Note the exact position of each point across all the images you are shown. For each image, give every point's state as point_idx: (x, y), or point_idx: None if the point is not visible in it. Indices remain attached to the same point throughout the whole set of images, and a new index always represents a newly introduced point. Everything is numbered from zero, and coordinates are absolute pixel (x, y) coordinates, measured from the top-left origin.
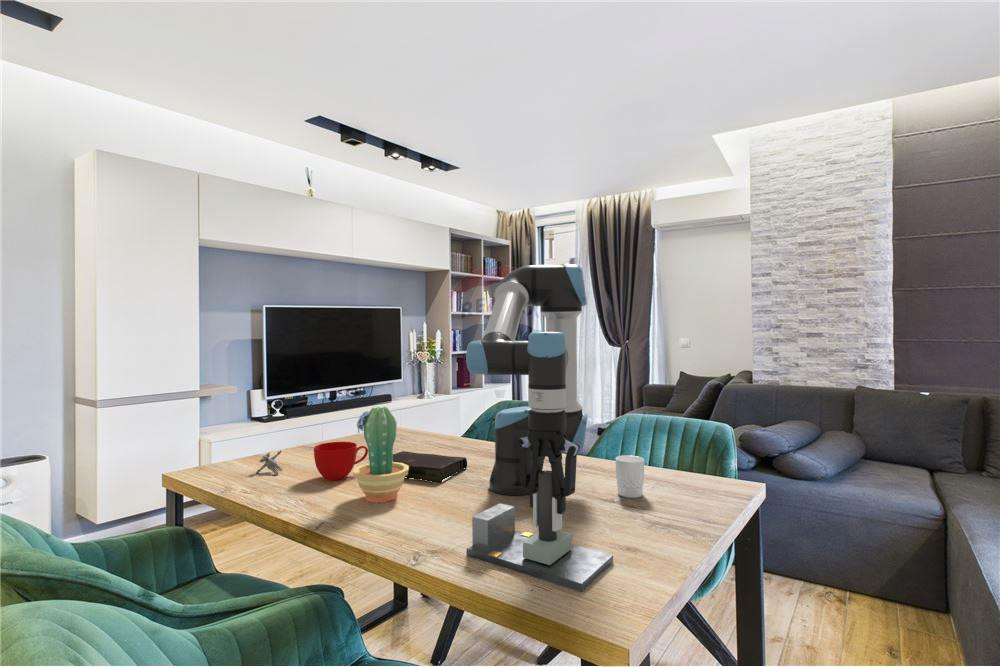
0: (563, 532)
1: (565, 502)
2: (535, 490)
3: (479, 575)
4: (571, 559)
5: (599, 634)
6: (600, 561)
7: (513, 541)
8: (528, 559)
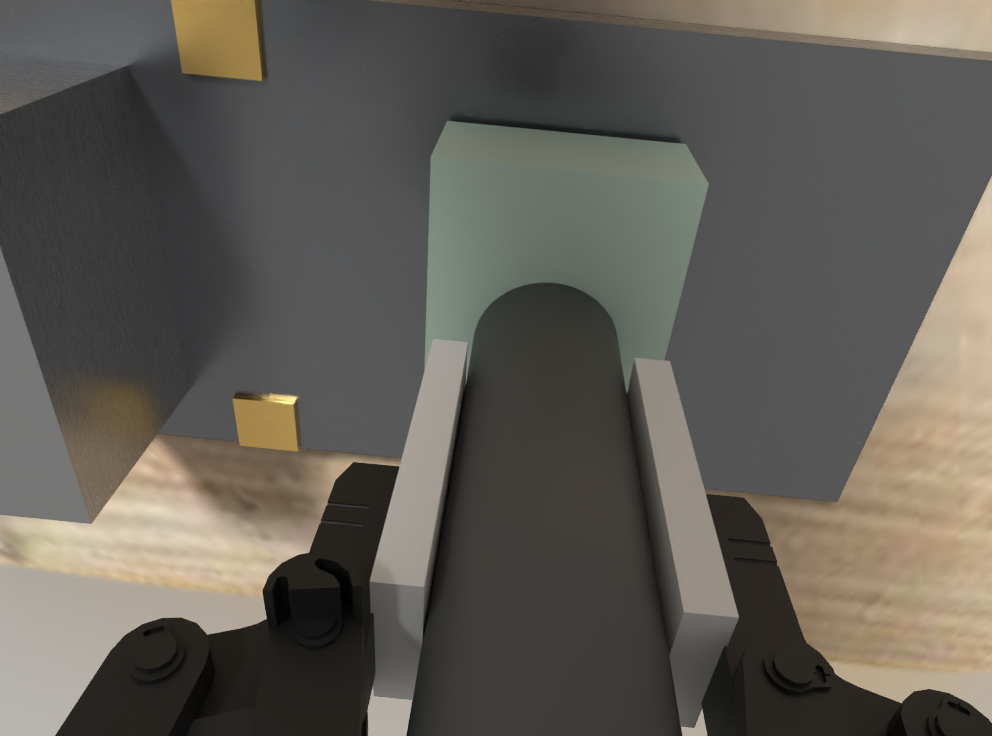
0: (626, 188)
1: (785, 593)
2: (370, 689)
3: (314, 521)
4: (720, 284)
5: (925, 660)
6: (933, 225)
7: (224, 210)
8: None
